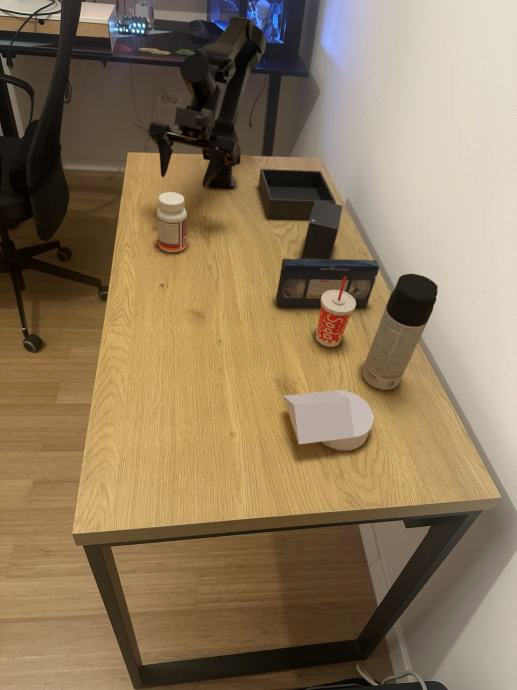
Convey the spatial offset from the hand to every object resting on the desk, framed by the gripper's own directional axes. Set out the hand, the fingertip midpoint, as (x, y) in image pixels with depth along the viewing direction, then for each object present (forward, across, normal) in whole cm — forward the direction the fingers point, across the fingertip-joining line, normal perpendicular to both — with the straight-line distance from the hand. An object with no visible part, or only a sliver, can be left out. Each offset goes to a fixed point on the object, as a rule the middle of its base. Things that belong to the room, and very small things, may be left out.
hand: (182, 181), depth 105 cm
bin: (-9, +20, +26) cm, 34 cm away
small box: (+6, +30, +12) cm, 33 cm away
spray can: (+29, +48, -12) cm, 57 cm away
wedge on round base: (+39, +41, -21) cm, 61 cm away
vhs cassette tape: (+18, +34, 0) cm, 39 cm away
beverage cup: (+25, +38, -7) cm, 46 cm away
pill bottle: (+13, 0, +4) cm, 14 cm away
